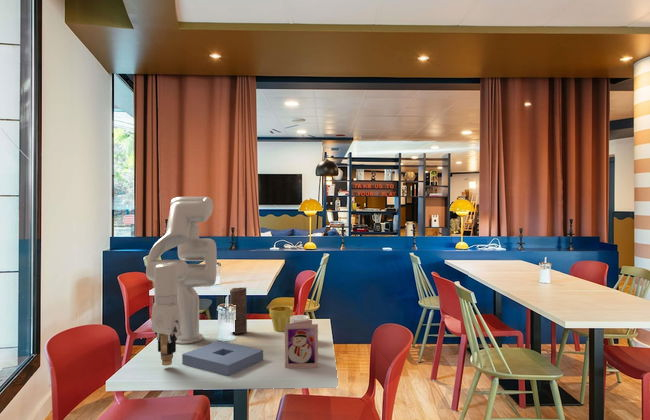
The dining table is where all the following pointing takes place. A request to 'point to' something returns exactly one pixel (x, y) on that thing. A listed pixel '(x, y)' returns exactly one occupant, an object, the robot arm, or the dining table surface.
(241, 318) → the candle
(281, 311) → the plant pot
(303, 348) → the greeting card
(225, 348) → the board
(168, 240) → the robot arm
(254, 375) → the dining table surface
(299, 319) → the white cup
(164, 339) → the leg peg
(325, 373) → the dining table surface
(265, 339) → the dining table surface
